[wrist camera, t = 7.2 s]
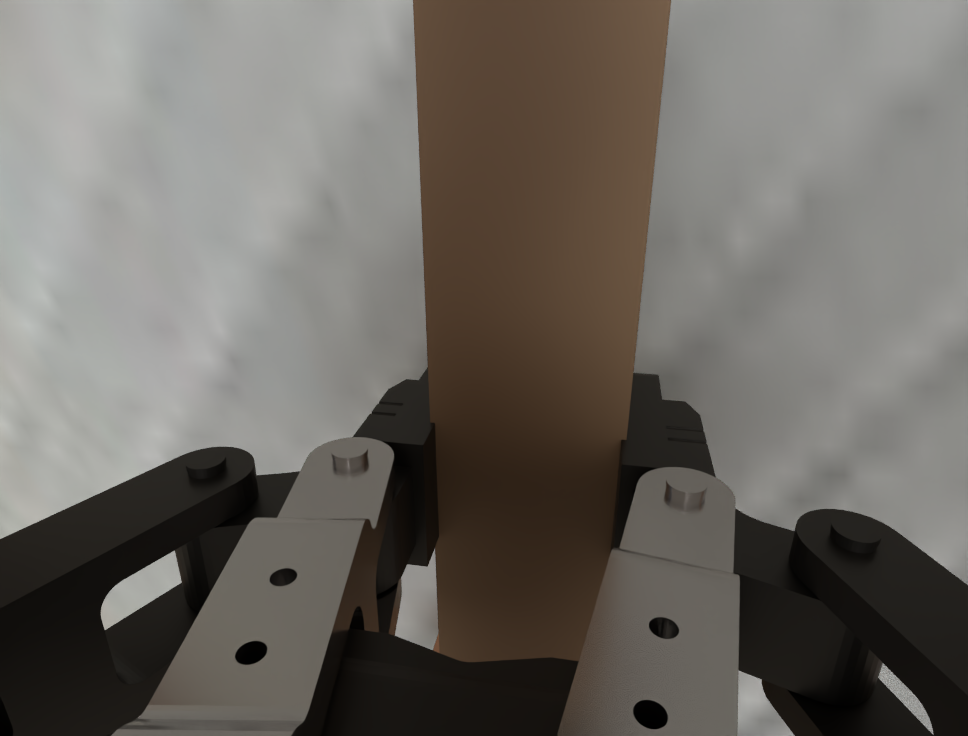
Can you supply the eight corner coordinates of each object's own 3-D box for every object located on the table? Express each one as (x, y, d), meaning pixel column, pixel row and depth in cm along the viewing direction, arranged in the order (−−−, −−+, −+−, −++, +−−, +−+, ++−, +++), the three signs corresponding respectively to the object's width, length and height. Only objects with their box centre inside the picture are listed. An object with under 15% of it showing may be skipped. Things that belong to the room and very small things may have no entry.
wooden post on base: (762, -78, 10) (839, -152, 7) (639, 772, 19) (644, 942, 15) (388, -64, 11) (282, -124, 8) (430, 738, 20) (388, 888, 16)
